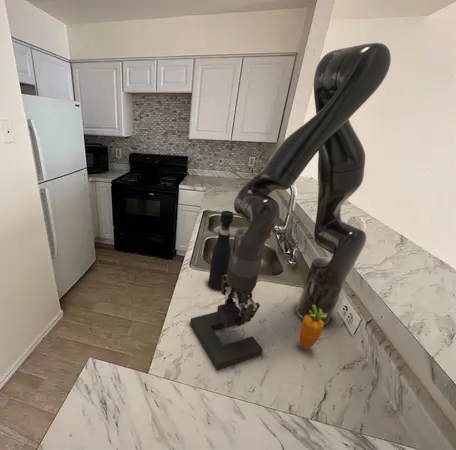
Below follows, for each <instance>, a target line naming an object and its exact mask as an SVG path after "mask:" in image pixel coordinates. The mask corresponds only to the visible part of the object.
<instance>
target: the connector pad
mask: <svg viewBox="0 0 456 450" xmlns="http://www.w3.org/2000/svg"><path fill="white" fill-rule="evenodd" d="M240 304H242V303H240ZM216 309H217V310H216V312H217V316H218V318H219V319H220V320H221V322H222V323H223V324H224V326H225V327H224V328H226V329H227V328H232V327H235V326H237V325H236V320H237V314H238V308H237V307H236V300H234V302H231V303H227V304H225V303H223V304H219V305H217V308H216ZM242 311H244V308H243V309H242ZM251 321H252V318H251V319H247V320H245V324H246V323H248V322H251Z"/></svg>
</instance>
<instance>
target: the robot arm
mask: <svg viewBox="0 0 456 450" xmlns="http://www.w3.org/2000/svg"><path fill="white" fill-rule="evenodd" d="M391 61H392V57H391V50H390V49H389V47H388V46H387V45H386V44H384V43H381V42H372V43H370V42H369V43H364V44H359V45H358V44H357V45H353V46H348V47H342V48H338V49H334V50H331V51H329V52H327V53H326V54H325V55H324V56H322V57H321V59H320V61H319V62H318V64H317V66H316V68H315V71H314V77H313V97H314V105H315V106H314V107H315V115H314V116H313V117H312V118H310V119H308V121H306V122H305V123H304V124H303V125H301V126H300V127H299V128H297V129H296V130H295V131H293V132H292V133H291V134H289V135H288V136H287V137H286V138H285V139H284V140H283V141H282V142H281V144H280V145H279V146H278V147H277V149H276V150H274V152H273V154H272V155H271V157H270V158H269V160H268V162H267V163H266V164H265V166H264V167H263V169H261V170H260V172H259V173H257V174H256V175H255V176H253V178H251V179H250V180H249V181H248V182H247V183H246V184H245V185H244V186H243V187H242V188H241V189H240V190H239V191H238V193H237V195H236V197H235V199H234V203H233V208H234V212H235V213H236V214H237V215H238V216H239V217H241V218H242V219H244V220H245V221H247V222H248V226H242V227H240V228H238V229H237V230H236V231H235V234H234V236H233V237H234V238H233V243H232V249H231V255H230V259H229V265H228V271H227V274H226V275H222V276H221V290H220V291H221V292H220V293H221V295H222V296H223V298H224V300H225V301H224V304H227V303H231V302H235V301H236V307H237V308H238V314H237V320H236V325H235V326H237V327H240V326H244V325H245V324H246V323H245V320H247V319H251V320H252V319H253V318H254V317H255V315H256V313H257V312H258V310H259V309H260V307H261V304H260V303H259V302H255V301H254V299H253V291H254V289H255V288H256V286H257V283H258V279H259V274H260V270H261V265H262V257H263V253H264V248H265V243H266V241H267V239H268V238H269V237H270V234H271V233H272V231H273V229H274V228H275V226H276V224H277V223H278V221H279V219H280V216H281V207H280V203H279V201H278V200H277V199H275V198H274V197H272V196H270V194H271V193H272V192H274V191H277V190H279V191H286V190H289V189H290V188H291V187H292V186H293V185H294V184H295V182H296V181H297V180H298V178H299V177H300V176H301V174H302V173H303V172H304V171H305V169H306V168H307V166H308V165H309V164H310V162H311V161H312V160H313V158H314V157H315V155H316V154H317V153H318V158H317V207H316V216H315V223H314V232H313V238H314V241H315V243H316V245H318V246H319V247H320V248H321V249H324V251H326V252H328V253H330V254H332V256H331V257H329V256H318V257H315V258H314V259H313V260H312V262H311V264H310V266H309V270H308V272H307V277H306V279H305V282H304V285H303V288H302V291H301V295H300V297H299V300H298V303H297V305H296V307H295V312H296V314H297V316H298V317H299V318H300V319H301V320H303V319H304V316H305V315H310V314H311V313H310V311H309V310H311V311H312V312H313V314H314V311H313V307H312V305H316V309H317V316H318V311H319V309H321V310H322V314H321V315H325V316H326V318H323V319H321V320H322V321H323V322H324V326H326V325H327V324H328V323H329V321H330V319H331V318H332V315H333V313H334V310H335V309H336V305H337V303H338V302H339V299H340V294H341V292H342V290H343V288H344V285H345V283H346V280H347V277H348V275H350V273H351V272H352V270H353V269H354V267H355V265H356V263H357V261H358V259H359V257H360V255H361V253H362V251H363V249H364V247H365V245H366V242H367V234H366V232H365V231H364V230H362V229H361V228H359V227H357V226H354V225H352V224H350V223H347V222H345V221H343V220H342V216H341V215H342V214H341V213H342V207H343V204H344V203H345V202H346V201H347V200H349V198H351V196H353V195H354V194H355V193H356V192H357V191H358V190H359V189H360V187H361V185H362V183H363V182H364V178H365V177H364V176H365V168H366V167H365V166H366V151H365V149H364V146H363V144H362V142H361V140H360V138H359V136H358V135H357V132H356V131H355V129H354V128H353V125H352V123H351V120H350V119H351V117H352V116H353V115H354V114H355V113H357V111H358V110H359V109H360V108H361V107H363V105H364V104H365V103H366V102H367V101H368V100H369V99H370V97H372V95H374V93H375V92H376V91H377V90H378V89H379V87H380V86H381V85H382V83H383V82H384V81H385V79H386V78H387V75H388V73H389V70H390V67H391ZM240 303H242V304H240ZM243 308H244V311H242V309H243Z"/></svg>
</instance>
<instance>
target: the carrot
mask: <svg viewBox="0 0 456 450" xmlns="http://www.w3.org/2000/svg"><path fill="white" fill-rule="evenodd" d="M312 307H313V311H314V314H313V312H312V311H311V310H309V311H310V313H311V314H310V315H305V316H304V319H302V323H301V327H300V330H299V343H300V346H301V348H302V349H304V350H306V349H309V348H311V347H313V346H314V345H315V343H316V342H318V340H319V338H320V336H321V334H322V332H323V330H324V326H325V325H324V322H323V321H322V320H321V319H323V318H326V316H325V315H321V314H322V310H321V309H319V311H318V316H317V309H316V305H312Z"/></svg>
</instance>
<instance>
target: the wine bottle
mask: <svg viewBox="0 0 456 450" xmlns="http://www.w3.org/2000/svg"><path fill="white" fill-rule="evenodd" d="M233 220H234V212H233V211H230V210H223V211H221V214H220V223H221V227H220V229H219V232H218V236H217V237H218V238H217V240H216V242H215V244H214V246H213V248H212V253H211V261H210V266H209V267H210V268H209V275H208V287H209V288H210V289H212V290H214V291H217V292H218V291H221V276H222V275H226V274H227V271H228V265H229V259H230V255H231V252H232V249H231V243H230V239H231V238H230V237H231V229H230V228H231V227H230V226H231V224H233Z"/></svg>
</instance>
